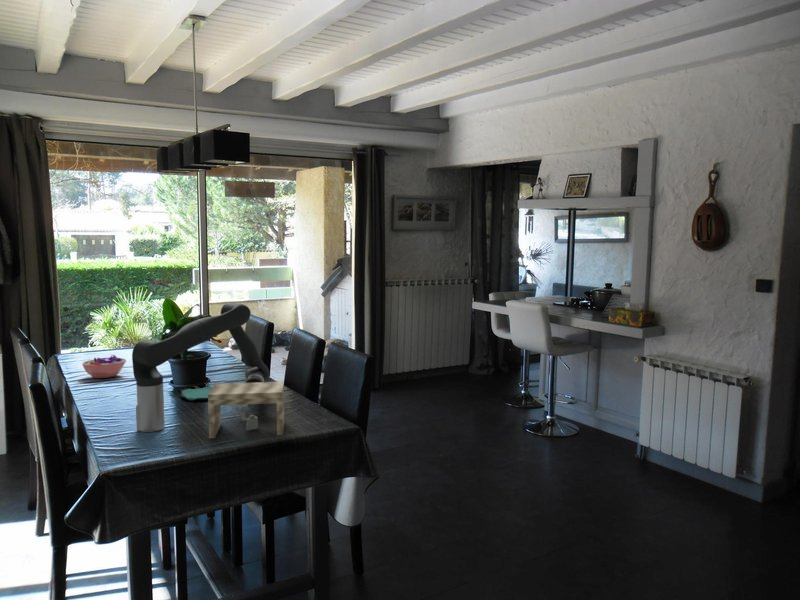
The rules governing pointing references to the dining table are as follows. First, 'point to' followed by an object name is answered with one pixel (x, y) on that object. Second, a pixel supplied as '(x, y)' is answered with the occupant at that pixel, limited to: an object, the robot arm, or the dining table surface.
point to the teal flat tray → (196, 393)
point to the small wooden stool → (244, 400)
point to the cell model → (104, 366)
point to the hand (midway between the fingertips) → (251, 394)
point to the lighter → (249, 421)
